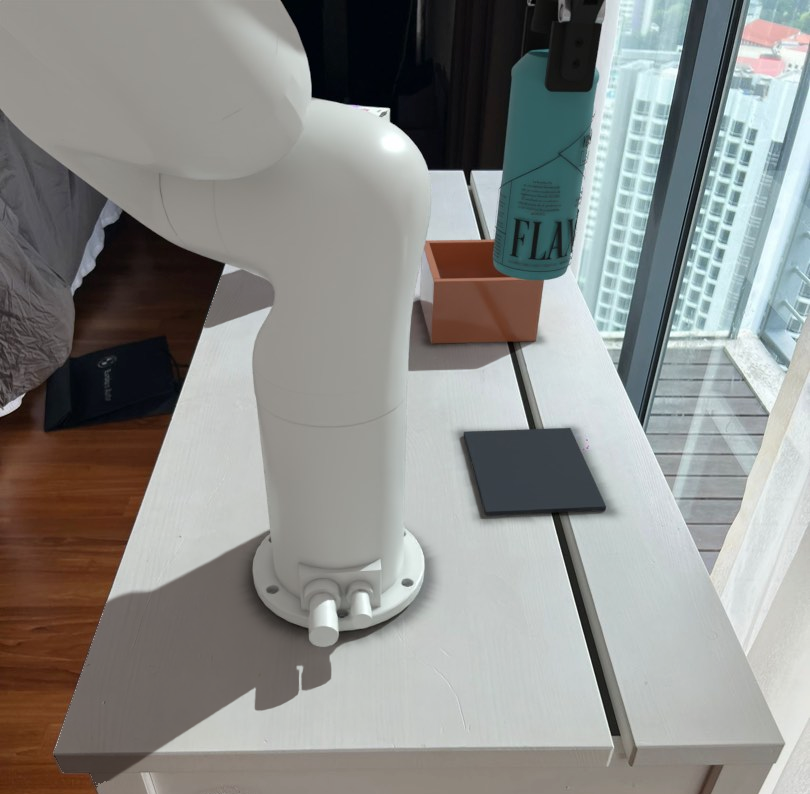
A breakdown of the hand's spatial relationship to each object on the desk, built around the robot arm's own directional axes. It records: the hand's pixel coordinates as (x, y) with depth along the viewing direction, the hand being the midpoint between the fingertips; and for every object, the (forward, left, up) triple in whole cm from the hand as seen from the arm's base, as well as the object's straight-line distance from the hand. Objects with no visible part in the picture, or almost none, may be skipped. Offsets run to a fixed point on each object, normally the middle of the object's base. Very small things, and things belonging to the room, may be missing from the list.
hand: (554, 77), depth 60 cm
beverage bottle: (0, 0, -15) cm, 15 cm away
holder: (+23, 0, -29) cm, 37 cm away
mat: (-7, 0, -29) cm, 30 cm away
